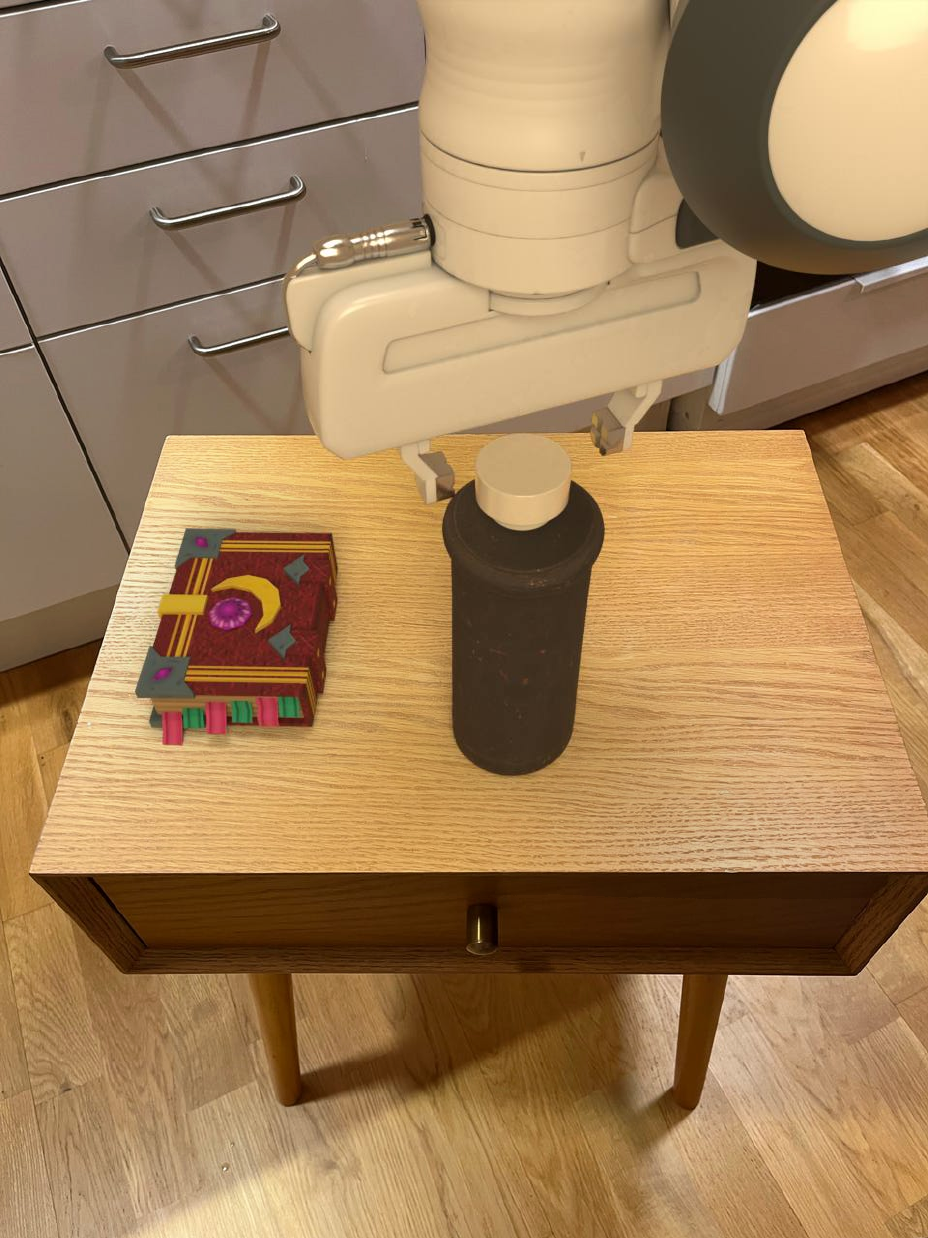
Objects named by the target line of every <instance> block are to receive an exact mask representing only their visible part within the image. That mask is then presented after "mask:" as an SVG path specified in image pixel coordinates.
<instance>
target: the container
mask: <svg viewBox="0 0 928 1238" xmlns="http://www.w3.org/2000/svg"><path fill="white" fill-rule="evenodd" d="M441 534H442V540H443V545H444V548H445V549H446V552H447V555H448V557H449V558H450V571H451V572H450V575H451V719H452V732H453V737H454V740H455V741H454V742H455V743H456V745H457V747H458V749H459V750H460V752H461V753H462V754H463V756H464V757H465V758H466V760H468V761H469V762H470V763H472V764H473V765H474V766H476V767H478V768H479V769H481V770H483V771H486V772H488V773H491V774H495V775H498V776H506V777H516V776H517V777H518V776H525V775H529V774H533V773H536V772H538V771H540V770H543V769H545V768H546V767H548V766H549V765H551V764H552V763H554V762H555V761H556V760H558V759H559V757H560V756H561V755H562V754H563V753H564V752H565V750H566V748H567V746H568V745H569V743H570V740H571V738H572V735H573V732H574V725H575V720H576V719H575V718H576V710H577V697H578V686H579V678H580V669H581V662H582V661H581V660H582V651H583V642H584V633H585V626H586V616H587V610H588V609H587V608H588V599H589V592H590V586H591V578H592V572H593V566H594V565H595V563H596V562H597V560H598V558H599V556H600V554H601V551H602V548H603V545H604V540H605V534H606V526H605V521H604V516H603V513H602V510H601V508H600V506H599V504H598V502H597V501H596V500H595V498H594V497H593V496H592V495H591V493H589V492H588V491H587V490H586V489H585V488H584V487H583V486H581V485H580V484H579V483H577V482H576V481H574V480H573V479H571V482H570V493H569V500H568V503H567V505H566V507H565V508H564V510H563V511H562V512H561V513H560V514H559V515H557V516H556V517H554V518H553V519H551V520H549V521H548V522H547V523H546V524H544V525H543V526H541V527H539V528H536V529H532V530H524V531H521V530H512V529H509V528H506V527H504V526H502V525H500V524H498V523H497V522H496V521H495V520H494V519H493V518H491V517H490V516H488V515H487V514H486V513H485V512H484V511H483V510H482V509H481V508H480V506H479V505H478V503H477V501H476V497H475V478H474V479H472V480H470V481H468V482H467V483H465V484H464V485H463V486H462V487H461V488H460V489H458V490H457V491H456V492H455V496H454V497H453V498H450V500H449V502H448V503H447V505H446V508H445V510H444V514H443V516H442V523H441Z"/></svg>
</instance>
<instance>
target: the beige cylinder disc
mask: <svg viewBox="0 0 928 1238" xmlns="http://www.w3.org/2000/svg"><path fill="white" fill-rule="evenodd" d="M572 470H573V463H572V459H571V456H570V455H569V453H568V451H567V450H566V449H565V448H564V447H563V446H562V445H561V444H560V443H558V442H557V441H555V440H553V439H551V438H549V437H547V436H543V435H540V434H536V433H530V432H529V433H528V432H519V433H517V432H515V433H510V434H504V435H502V436H498V437H495V438H494V439H492V440H490V441H489V442H487V443H485V445H484V446H483V447H481V449H480V450H479V451H478V453H477V455H476V457H475V461H474V479H475V497H476V501H477V503H478V505H479V506H480V508H481V509H482V510H483V511H484V512H485V513H486V514H487V515H488V516H490V517H491V518H493V519H494V520H495V521H496V522H497V523H498V524H500V525H502V526H504V527H506V528H509V529H512V530H521V531H524V530H532V529H536V528H539V527H541V526H543V525H544V524H546V523H547V522H548V521H549V520H551V519H553V518H554V517H556V516H557V515H559V514H560V513H561V512H562V511H563V510H564V508H565V507H566V505H567V503H568V500H569V493H570V482H571V480H572Z"/></svg>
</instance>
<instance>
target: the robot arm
mask: <svg viewBox="0 0 928 1238" xmlns="http://www.w3.org/2000/svg"><path fill="white" fill-rule="evenodd" d="M414 2H415V3H416V7H417V10H418V13H419V16H420V19H421V20H420V21H421V25H422V28H423V33H424V34H423V35H424V40H425V69H424V76H423V80H422V84H421V88H420V93H419V99H418V103H417V121H418V138H419V140H418V143H419V147H418V148H419V162H420V164H419V165H420V183H421V185H420V186H421V204H422V205H421V206H422V217H415V218H411V219H406V220H402V221H396V222H392V223H388V224H383V225H381V226H377V227H375V228H372V229H369V230H366V231H362V232H359V233H352V234H348V233H338V234H333V235H328V236H325V237H323V238H321V239H318V240H316V241H314V242H313V244H312V251H310V252H307V253H305V254H304V255H302V256H301V257H299V258H298V259H297V260H296V261H295V262H294V263H293V264H292V265H291V266H290V267H289V269H288V271H287V272H286V274H285V275H284V276H283V280H282V285H281V300H282V307H283V312H284V317H285V323H286V327H287V331H288V334H289V335H290V336H291V339H293V341H294V342H295V343H296V344H297V345H298V346H300V350H299V351H300V354H299V355H300V376H301V389H302V395H303V402H304V408H305V410H306V414H307V417H308V419H309V422H310V424H311V427H312V430H313V431H314V433H315V434H314V435H316V438H317V440H318V442H319V443H320V444H321V446H322V447H323V449H325V450H327V451H328V452H329V453H330V454H333V456H335V457H337V458H339V459H341V460H343V461H350V460H354V459H358V458H362V457H366V456H370V455H374V454H377V453H382V452H385V451H389V450H393V449H395V450H396V451H397V453H398V456H399V457H400V460H401V461H402V462H403V463H404V464H405V465H406V466H407V467H408V469H410V470H411V471H412V472H413V474H414V475H413V476H414V482H415V486H416V489H417V492H418V494H419V495H420V497H421V499H422V501H423V503H424V505H426V506H428V505H432V504H434V503H438V502H442V501H445V500H446V501H447V500H448V499H452V498H453V497H454V496H455V494H456V489H455V488H454V486H455V484H456V476H455V471H454V470H453V468H452V466H451V465H450V464H449V463H448V462H447V461H448V460H447V457H446V456H445V454H444V452H443V451H442V450H439V451H434V452H431V450H432V449H431V448H432V447H431V440H432V439H436V438H440V437H444V436H448V435H452V434H457V433H459V432H463V431H467V430H471V429H475V428H479V427H483V426H487V425H491V424H494V423H498V422H502V421H506V420H509V419H510V420H511V419H514V418H518V417H521V416H522V417H523V416H524V415H530V414H533V413H538V412H541V411H545V410H548V409H553V408H557V407H560V406H565V405H568V404H572V403H576V402H580V401H583V400H587V399H592V398H595V397H596V398H597V397H599V396H603V395H607V394H611V393H613V394H612V397H611V398H610V400H609V402H608V404H607V405H606V407H603V408H599V409H596V410H593V411H592V412H591V424H592V426H591V428H590V431H589V435H590V440H591V442H592V444H593V446H594V447H595V448H597V449H599V450H598V453H599V454H600V455H601V456H602V457H605V456H610V455H614V454H618V453H621V452H625V451H630V450H631V448H632V445H633V438H634V432H635V425H638V423H640V421H641V420H642V419H643V417H644V416H645V415H646V413H647V412H648V411H649V409H650V408H651V407H652V406H653V404H654V403H655V402H656V400H657V399H658V398H659V396H660V395H661V394H662V389H663V383H664V380H666V379H670V378H673V377H674V378H675V377H677V376H682V375H685V374H690V373H693V372H696V371H697V372H698V371H701V370H704V369H709V368H713V367H717V366H719V365H721V364H723V363H724V362H725V360H726V359H728V357H729V356H730V355H731V354H732V353H733V352H734V350H735V349H736V348H737V347H738V346H739V345H740V343H741V341H742V339H743V337H744V334H745V330H746V326H747V324H748V323H747V322H748V319H749V314H750V309H751V305H752V299H753V294H754V288H755V282H756V281H755V280H756V274H757V262H761V263H763V264H765V265H768V266H770V267H775V268H778V269H782V270H786V271H790V272H795V273H802V274H812V275H829V276H831V275H834V276H835V275H851V274H861V273H867V272H868V273H869V272H873V271H874V272H875V271H878V270H883V269H888V268H892V267H896V266H900V265H903V264H906V263H909V262H912V261H915V260H917V259H920V258H923V257H926V256H928V0H415V1H414ZM313 264H316V265H313ZM312 265H313V266H312Z"/></svg>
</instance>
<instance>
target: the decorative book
mask: <svg viewBox="0 0 928 1238" xmlns="http://www.w3.org/2000/svg"><path fill="white" fill-rule="evenodd" d="M179 546H180V547H179V550H178V552H177V556H176V559H175V563H174V569H175V573H174V576H173V579H172V582H171V586H170V589H169V592H168V594H167V593H166V594H165V593H163V594H162V595H161V598H160V601H159V605H158V608H157V611H156V612H157V615H158V617H159V619H160V622H159V625H158V627H157V630H156V635H155V637H154V640H153V644H152V645H149V646H148V649H147V652H146V655H145V658H144V662H143V665H142V668H141V671H140V674H139V677H138V680H137V684H136V685H135V690H134V693H135V695H136V697H137V699H150V700H151V702H152V705H153V707H152V710H151V714H150V715H149V716H150V717H149V720H148V723H149V725H150V727H151V728H161V729H162V743H161V744H162V746H183V735H184V734H183V729H205V735H227V726H241V727H267V728H268V727H270V728H272V727H273V728H274V727H277V728H279V727H291V728H293V727H294V728H296V727H297V728H313V726H314V725H313V724H314V719H315V714H316V708H317V707H316V706H317V701H318V694H324V688H325V682H326V676H327V666H326V660H325V651H326V646H327V645H326V644H327V638H328V633H329V625H330V622H335V618H336V613H337V607H338V606H337V605H338V594H337V589H336V584H337V583H336V582H337V576H338V570H339V568H338V561H337V555H336V550H335V542H334V538H333V533H332V532H268V531H267V532H266V531H265V532H264V531H263V532H261V531H260V532H259V531H258V532H257V531H253V532H252V531H250V532H249V531H237V529H235V528H195V527H194V528H193V527H192V528H191V527H186V528H185V530H184V533H183V536H182V540H181V543H180V545H179Z"/></svg>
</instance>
